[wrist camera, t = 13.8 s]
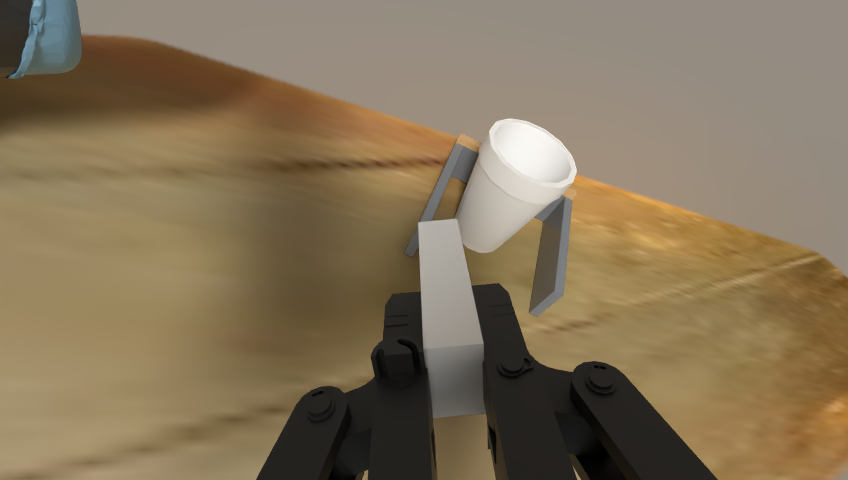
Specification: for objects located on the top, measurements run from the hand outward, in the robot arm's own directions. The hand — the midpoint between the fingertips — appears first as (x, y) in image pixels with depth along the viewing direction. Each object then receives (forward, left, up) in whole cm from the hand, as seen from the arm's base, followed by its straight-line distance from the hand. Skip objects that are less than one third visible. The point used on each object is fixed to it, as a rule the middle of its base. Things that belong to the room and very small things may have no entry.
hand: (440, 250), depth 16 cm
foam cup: (+6, +25, -23) cm, 34 cm away
